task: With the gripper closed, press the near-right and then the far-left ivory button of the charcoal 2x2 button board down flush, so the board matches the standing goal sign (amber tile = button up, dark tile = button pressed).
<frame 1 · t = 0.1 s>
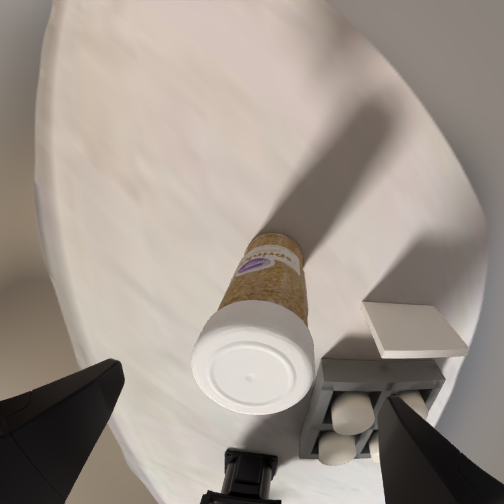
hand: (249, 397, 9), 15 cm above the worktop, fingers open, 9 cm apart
sprinkles bottle: (273, 259, 23), on the worktop
goal sign: (399, 307, 22), on the worktop
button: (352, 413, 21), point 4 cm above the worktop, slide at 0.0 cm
button board: (365, 404, 26), on the worktop
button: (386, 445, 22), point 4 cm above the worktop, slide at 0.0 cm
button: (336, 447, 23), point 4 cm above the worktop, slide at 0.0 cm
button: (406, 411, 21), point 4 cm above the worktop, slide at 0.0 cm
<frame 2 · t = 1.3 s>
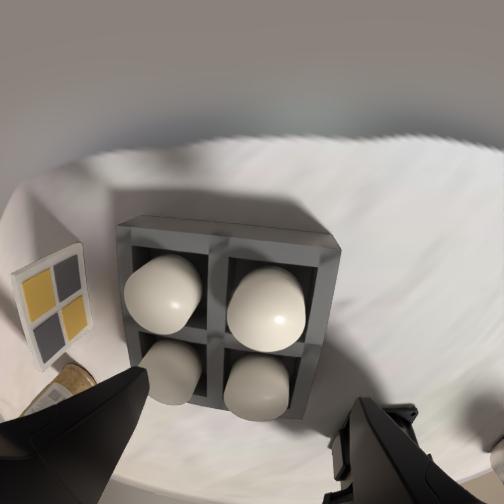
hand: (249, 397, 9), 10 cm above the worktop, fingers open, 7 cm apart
sprinkles bottle: (83, 379, 24), on the worktop
goal sign: (84, 286, 20), on the worktop
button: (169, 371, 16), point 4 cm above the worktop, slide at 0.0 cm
button board: (226, 312, 19), on the worktop
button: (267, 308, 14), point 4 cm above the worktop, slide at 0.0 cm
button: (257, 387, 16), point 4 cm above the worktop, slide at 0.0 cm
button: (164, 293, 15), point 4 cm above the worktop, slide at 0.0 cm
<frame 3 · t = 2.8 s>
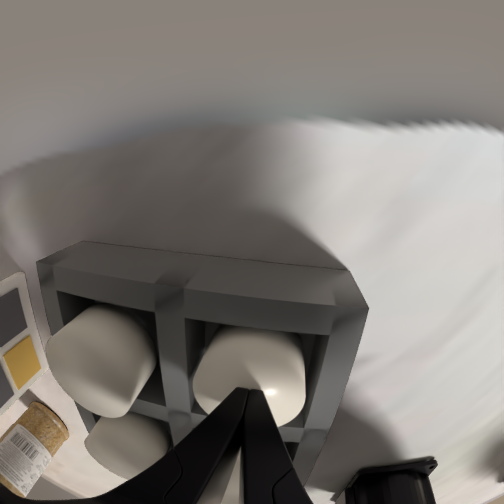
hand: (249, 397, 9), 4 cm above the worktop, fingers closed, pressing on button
sprinkles bottle: (52, 418, 18), on the worktop
goal sign: (33, 323, 14), on the worktop
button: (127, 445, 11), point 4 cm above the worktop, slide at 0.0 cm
button board: (199, 371, 13), on the worktop
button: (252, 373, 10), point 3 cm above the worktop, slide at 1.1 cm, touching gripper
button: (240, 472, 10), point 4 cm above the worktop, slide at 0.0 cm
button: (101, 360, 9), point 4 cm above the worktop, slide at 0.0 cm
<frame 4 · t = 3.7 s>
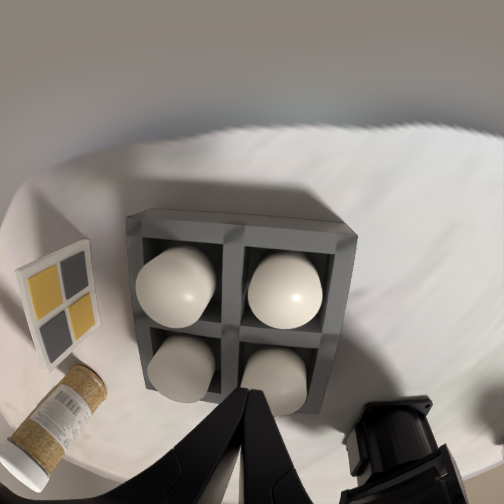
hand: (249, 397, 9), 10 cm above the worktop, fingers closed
sprinkles bottle: (90, 381, 24), on the worktop
goal sign: (91, 284, 20), on the worktop
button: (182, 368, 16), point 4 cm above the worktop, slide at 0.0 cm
button board: (239, 306, 19), on the worktop
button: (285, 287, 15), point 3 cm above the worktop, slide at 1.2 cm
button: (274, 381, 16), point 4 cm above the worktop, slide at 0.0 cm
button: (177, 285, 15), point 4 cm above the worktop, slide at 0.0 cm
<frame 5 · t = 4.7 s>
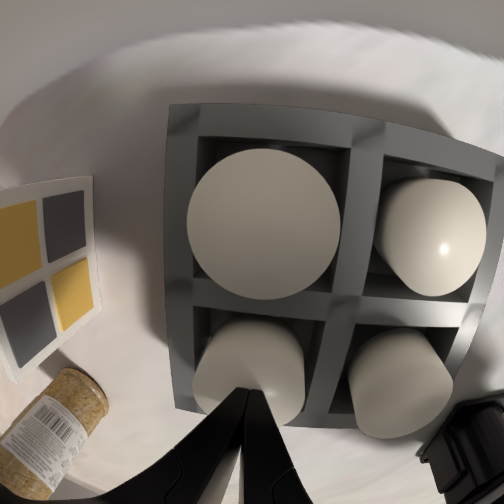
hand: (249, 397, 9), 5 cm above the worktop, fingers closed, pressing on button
sprinkles bottle: (86, 389, 17), on the worktop
goal sign: (90, 246, 13), on the worktop
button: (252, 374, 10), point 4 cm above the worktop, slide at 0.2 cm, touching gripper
button board: (331, 273, 12), on the worktop
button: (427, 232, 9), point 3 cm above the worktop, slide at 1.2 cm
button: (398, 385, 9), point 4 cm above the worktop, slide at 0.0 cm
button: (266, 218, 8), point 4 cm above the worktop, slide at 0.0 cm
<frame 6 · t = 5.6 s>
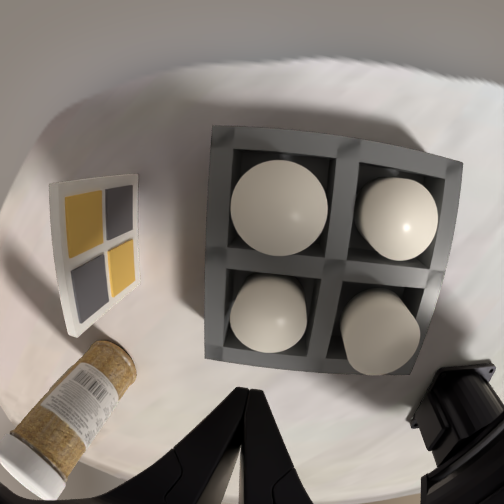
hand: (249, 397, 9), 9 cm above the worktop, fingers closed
sprinkles bottle: (115, 360, 21), on the worktop
goal sign: (133, 230, 17), on the worktop
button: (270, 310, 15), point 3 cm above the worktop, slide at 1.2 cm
button board: (326, 250, 16), on the worktop
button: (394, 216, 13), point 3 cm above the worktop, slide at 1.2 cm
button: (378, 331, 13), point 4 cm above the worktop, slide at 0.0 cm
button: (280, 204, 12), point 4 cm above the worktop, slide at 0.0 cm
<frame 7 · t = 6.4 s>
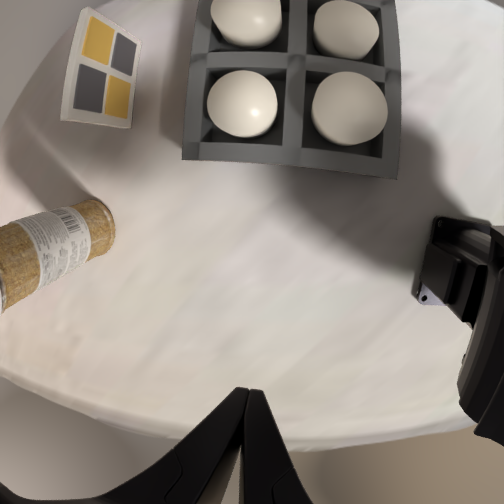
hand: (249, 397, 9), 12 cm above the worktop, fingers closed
sprinkles bottle: (96, 227, 21), on the worktop
goal sign: (132, 83, 17), on the worktop
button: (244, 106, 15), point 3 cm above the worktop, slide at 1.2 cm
button board: (295, 77, 16), on the worktop
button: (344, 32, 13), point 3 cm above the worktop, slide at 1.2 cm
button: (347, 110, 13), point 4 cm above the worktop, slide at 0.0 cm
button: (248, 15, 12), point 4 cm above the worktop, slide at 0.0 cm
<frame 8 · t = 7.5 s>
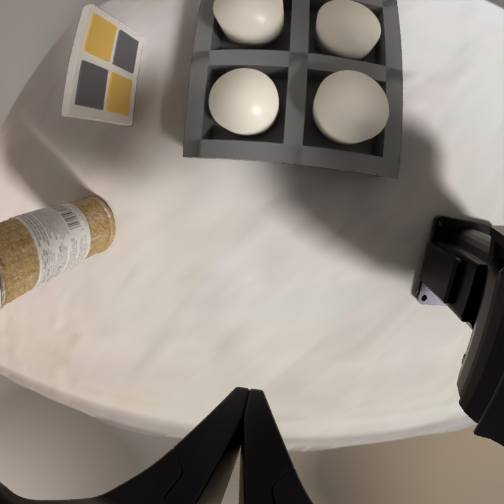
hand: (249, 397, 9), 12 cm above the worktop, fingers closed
sprinkles bottle: (96, 224, 21), on the worktop
goal sign: (133, 80, 17), on the worktop
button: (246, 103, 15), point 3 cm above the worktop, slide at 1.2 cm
button board: (297, 76, 16), on the worktop
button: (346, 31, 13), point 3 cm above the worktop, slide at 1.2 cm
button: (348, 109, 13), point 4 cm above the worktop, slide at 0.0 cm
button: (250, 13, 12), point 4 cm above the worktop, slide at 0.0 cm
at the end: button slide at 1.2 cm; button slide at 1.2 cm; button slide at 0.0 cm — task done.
